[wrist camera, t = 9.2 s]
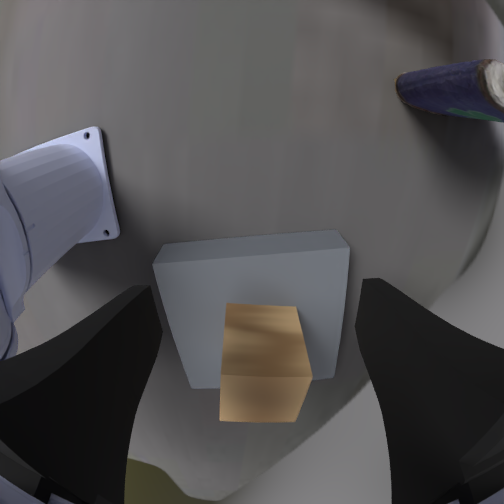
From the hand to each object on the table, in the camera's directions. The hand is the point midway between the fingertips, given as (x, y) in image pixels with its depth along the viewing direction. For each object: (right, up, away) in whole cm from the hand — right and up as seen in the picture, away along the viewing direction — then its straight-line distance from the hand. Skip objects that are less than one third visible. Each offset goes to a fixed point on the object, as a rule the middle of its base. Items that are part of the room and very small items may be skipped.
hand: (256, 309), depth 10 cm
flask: (+14, +13, +6) cm, 20 cm away
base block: (0, -2, +13) cm, 13 cm away
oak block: (0, -3, +10) cm, 11 cm away
